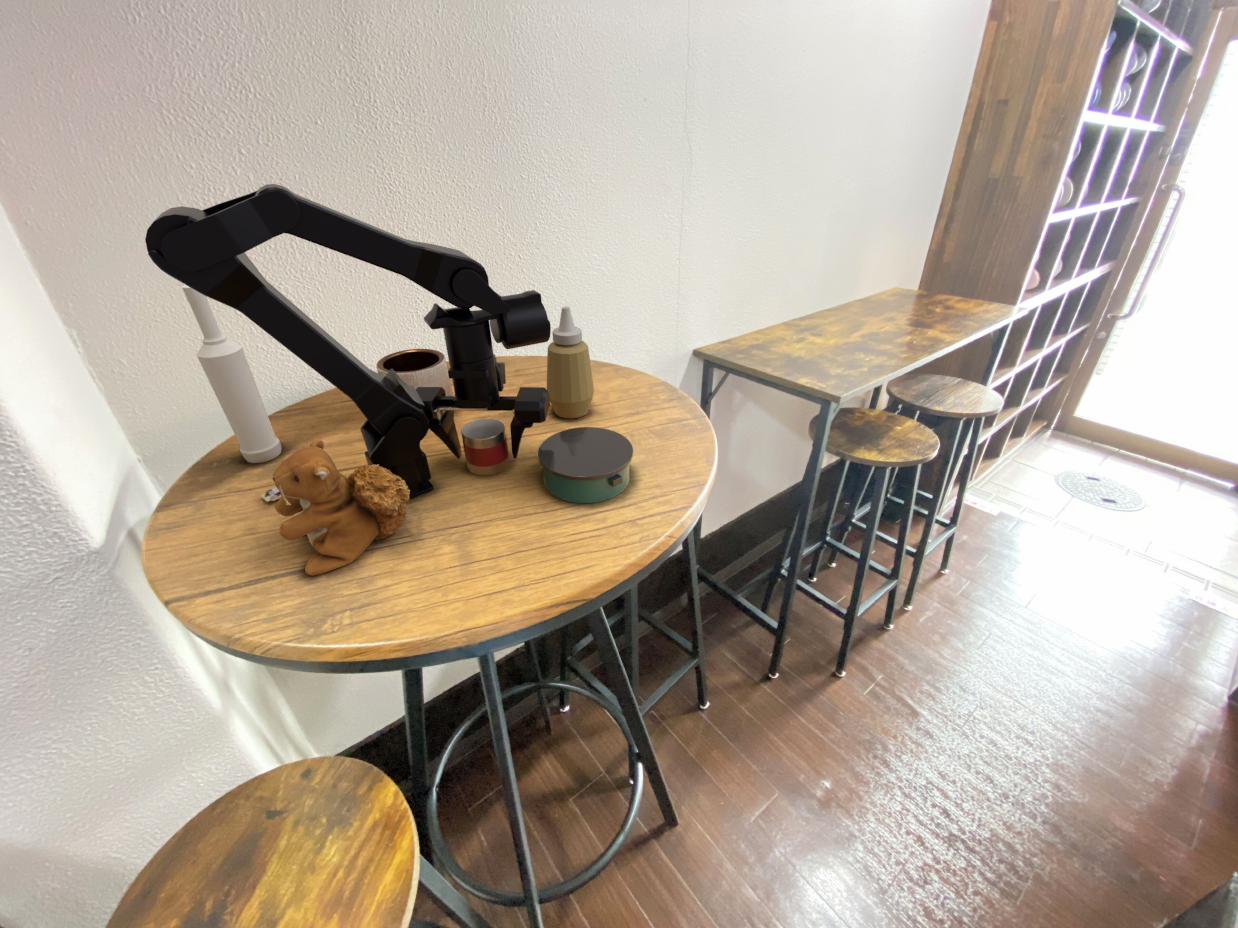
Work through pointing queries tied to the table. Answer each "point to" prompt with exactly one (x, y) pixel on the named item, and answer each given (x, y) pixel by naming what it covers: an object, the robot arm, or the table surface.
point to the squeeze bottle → (569, 370)
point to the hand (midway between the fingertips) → (487, 457)
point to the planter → (418, 368)
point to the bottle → (233, 385)
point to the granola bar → (272, 495)
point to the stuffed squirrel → (337, 506)
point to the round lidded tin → (585, 464)
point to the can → (485, 446)
